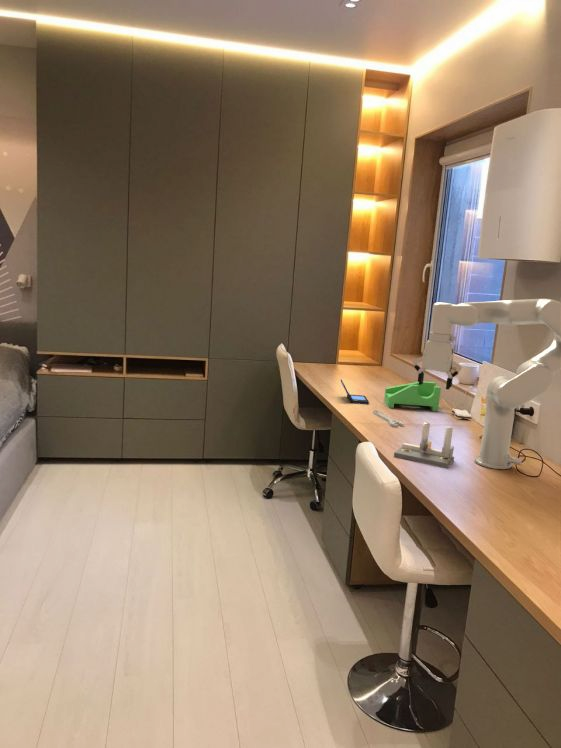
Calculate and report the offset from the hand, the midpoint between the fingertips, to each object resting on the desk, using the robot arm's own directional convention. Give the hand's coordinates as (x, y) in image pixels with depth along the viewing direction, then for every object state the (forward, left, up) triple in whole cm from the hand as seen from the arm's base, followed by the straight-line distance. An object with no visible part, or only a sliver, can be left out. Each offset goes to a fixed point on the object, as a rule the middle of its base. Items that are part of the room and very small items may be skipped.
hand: (434, 386), depth 220 cm
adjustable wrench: (+29, -44, -27) cm, 59 cm away
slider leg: (+1, 0, -24) cm, 24 cm away
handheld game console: (+56, -71, -27) cm, 94 cm away
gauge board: (0, +2, -26) cm, 26 cm away
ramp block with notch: (+29, -79, -27) cm, 88 cm away
